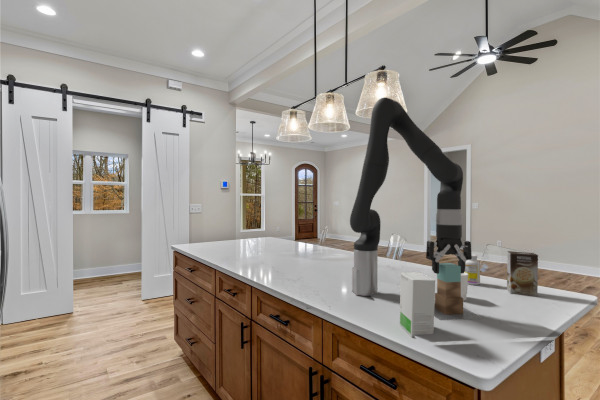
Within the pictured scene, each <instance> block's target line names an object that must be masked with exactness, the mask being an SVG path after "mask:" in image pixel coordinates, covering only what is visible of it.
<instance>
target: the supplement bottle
mask: <svg viewBox="0 0 600 400" xmlns="http://www.w3.org/2000/svg"><path fill="white" fill-rule="evenodd" d="M471 254H472V253H471ZM464 272H465V273H468V286H470V285H471V286H478V285H480V284H481V263H480V261H479V260H478V255H477V254H474V253H473V254H472V259H471V260H467V261H466V262H465V271H464Z"/></svg>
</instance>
